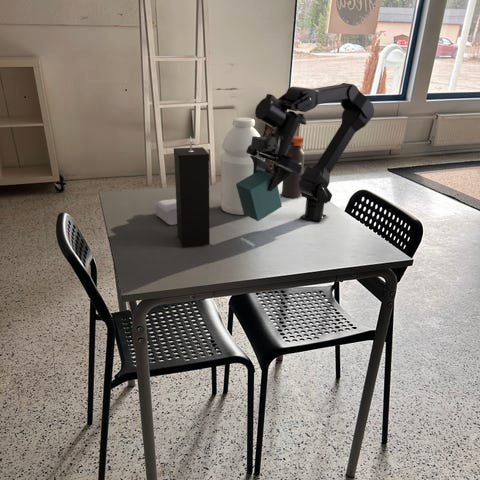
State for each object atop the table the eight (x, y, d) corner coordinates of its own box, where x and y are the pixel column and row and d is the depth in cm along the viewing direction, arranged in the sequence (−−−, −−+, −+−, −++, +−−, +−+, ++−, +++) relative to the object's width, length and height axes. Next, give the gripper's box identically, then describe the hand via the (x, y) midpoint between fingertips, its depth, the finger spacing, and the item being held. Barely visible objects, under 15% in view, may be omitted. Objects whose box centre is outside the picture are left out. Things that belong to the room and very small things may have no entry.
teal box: (267, 200, 149) (260, 169, 143) (281, 206, 144) (275, 175, 138) (243, 214, 147) (235, 183, 140) (257, 221, 142) (250, 190, 135)
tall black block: (182, 247, 136) (177, 141, 121) (177, 236, 143) (172, 135, 128) (209, 245, 138) (209, 140, 123) (204, 234, 144) (202, 134, 130)
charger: (174, 206, 165) (195, 220, 154) (148, 210, 161) (167, 225, 150) (173, 192, 162) (194, 205, 152) (147, 196, 158) (166, 210, 147)
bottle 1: (212, 206, 166) (211, 117, 151) (244, 199, 173) (247, 113, 159) (237, 218, 157) (239, 125, 142) (270, 210, 164) (276, 120, 149)
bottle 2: (288, 199, 175) (293, 140, 164) (278, 194, 180) (282, 136, 169) (304, 197, 178) (310, 138, 167) (293, 191, 183) (298, 134, 172)
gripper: (243, 116, 139) (222, 170, 142) (286, 128, 126) (261, 187, 130) (270, 132, 146) (249, 182, 150) (313, 144, 133) (289, 199, 137)
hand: (261, 187), depth 141 cm, fingers closed on teal box, 7 cm apart
